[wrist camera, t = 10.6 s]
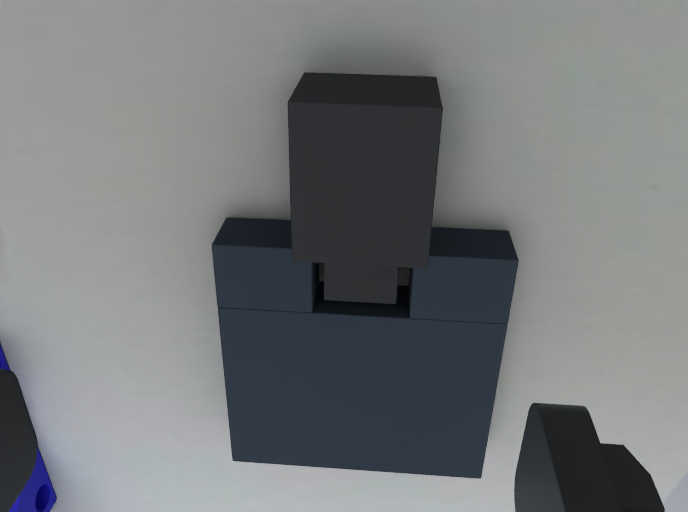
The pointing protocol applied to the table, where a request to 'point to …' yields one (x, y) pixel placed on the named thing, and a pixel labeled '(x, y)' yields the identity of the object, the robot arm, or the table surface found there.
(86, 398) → the table surface
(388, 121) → the black usb stick
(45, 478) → the blue half-round bracket
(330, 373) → the grey pad
